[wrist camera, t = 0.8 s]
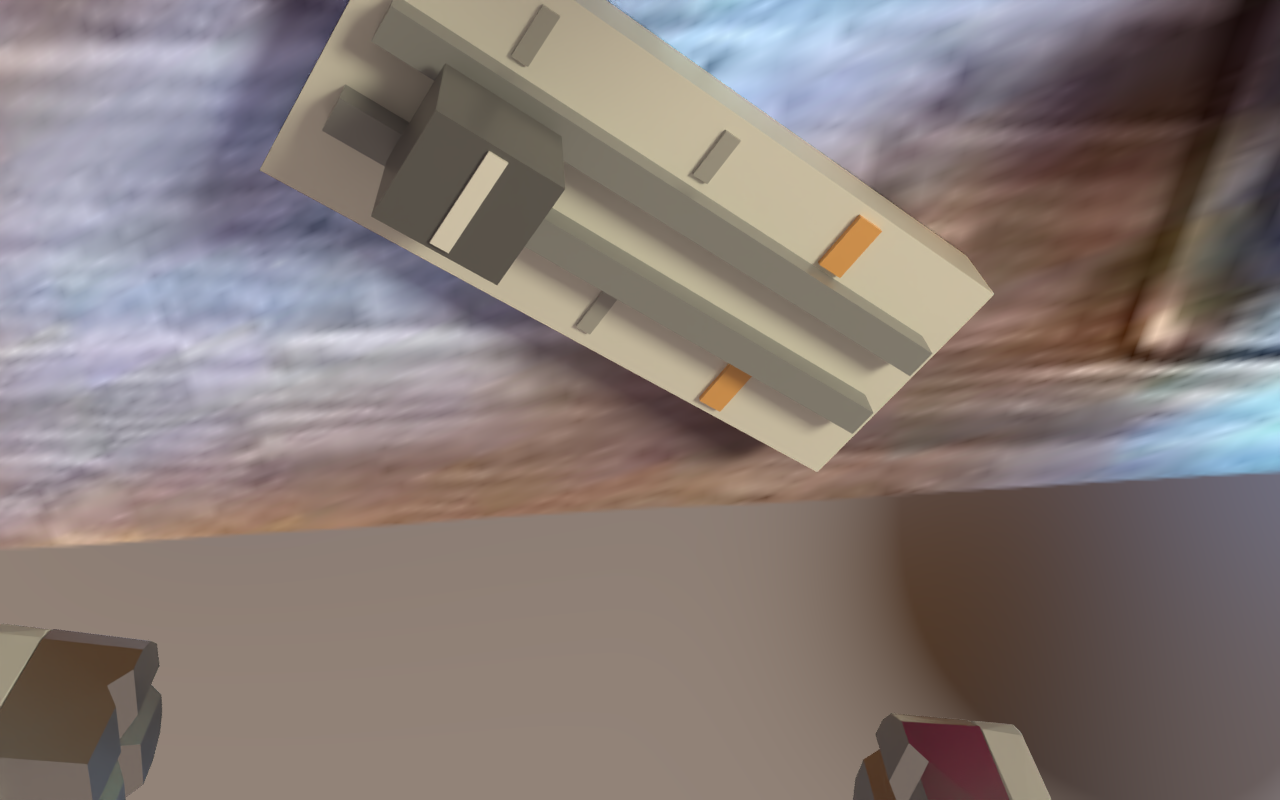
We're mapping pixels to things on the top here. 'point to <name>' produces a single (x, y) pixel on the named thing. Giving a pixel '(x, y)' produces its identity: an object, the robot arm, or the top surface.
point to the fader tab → (471, 176)
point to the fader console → (653, 213)
